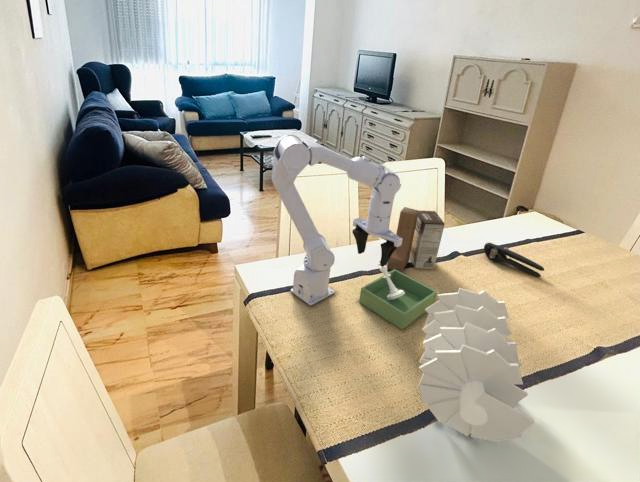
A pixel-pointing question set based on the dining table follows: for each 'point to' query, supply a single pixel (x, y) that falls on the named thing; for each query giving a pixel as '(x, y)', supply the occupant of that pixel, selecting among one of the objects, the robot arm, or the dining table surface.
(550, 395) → the dining table surface
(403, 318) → the basket
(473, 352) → the spiral staircase
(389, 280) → the chess piece
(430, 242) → the coffee box
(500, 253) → the can opener
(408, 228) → the wooden block
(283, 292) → the dining table surface
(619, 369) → the dining table surface
